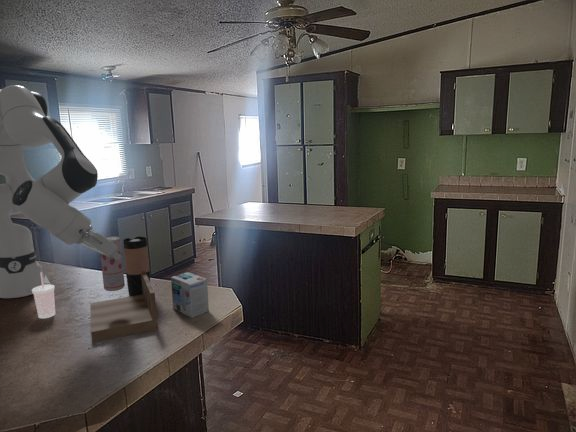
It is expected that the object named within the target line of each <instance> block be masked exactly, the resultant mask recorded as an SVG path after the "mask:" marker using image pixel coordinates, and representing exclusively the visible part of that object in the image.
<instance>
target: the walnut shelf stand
mask: <svg viewBox="0 0 576 432" xmlns="http://www.w3.org/2000/svg"><path fill="white" fill-rule="evenodd" d="M141 277H142V289H143V294H142V295H136V296H130V297H129V296H125V297H120V298H119V297H118V298H112V299H108V300H107V299H106V300H102V301H96V302H90V303H89V305H90V306H89V308H90V334H91V342H92V343H96V342H101V341H107V340H112V339H117V338H121V337H125V336H131V335H135V334H140V333H146V332H149V331H157V330H158V329H159V328H158V317H157V306H156V305H157V302H156V294H155V290H154V287H153V286H152V283H151V280H150V281H149V279H148V277H147V274H146V272H145V271H141Z"/></svg>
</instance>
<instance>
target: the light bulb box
mask: <svg viewBox="0 0 576 432" xmlns="http://www.w3.org/2000/svg"><path fill="white" fill-rule="evenodd" d="M170 281H171V282H170V283H171V294H172V295H171V297H172V299H171V300H172V309H174V310H175V311H177V312H179V313H181V314H183V315H185V316H187V317H189V318H195V317H197V316H200V315H203V314H206V313H208V312H209V292H208V291H209V289H208V279H207V278H205V277H204V276H203V277H202V276H200V275H197V274H194V273H192V272H189V271H188V272H184V273H179V274H177V275H174V276H171V277H170ZM205 312H206V313H205Z"/></svg>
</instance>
